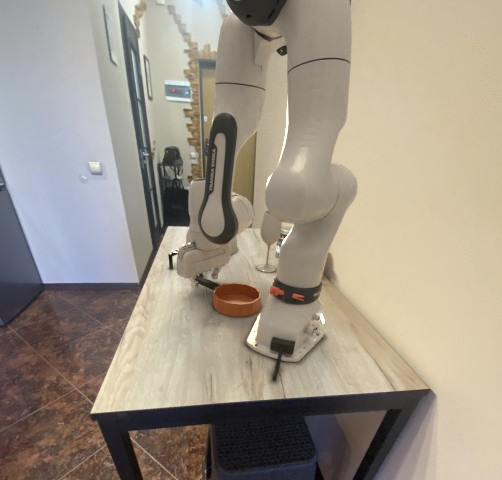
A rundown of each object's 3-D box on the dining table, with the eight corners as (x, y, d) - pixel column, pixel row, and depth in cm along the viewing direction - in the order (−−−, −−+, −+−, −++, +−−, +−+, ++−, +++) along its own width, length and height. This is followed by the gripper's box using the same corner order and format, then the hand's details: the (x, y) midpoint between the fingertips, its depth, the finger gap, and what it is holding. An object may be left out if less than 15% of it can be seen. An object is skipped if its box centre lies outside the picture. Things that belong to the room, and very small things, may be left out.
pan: (268, 304, 88) (269, 292, 86) (241, 322, 78) (242, 309, 76) (208, 280, 99) (208, 269, 97) (177, 293, 89) (177, 281, 87)
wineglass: (260, 272, 109) (266, 214, 97) (254, 265, 115) (259, 209, 103) (278, 272, 111) (286, 215, 99) (272, 265, 117) (279, 210, 105)
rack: (201, 277, 101) (200, 260, 97) (169, 268, 105) (168, 252, 102) (223, 264, 113) (224, 249, 110) (194, 256, 117) (193, 241, 114)
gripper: (185, 249, 74) (187, 296, 82) (234, 235, 89) (232, 277, 96) (169, 243, 77) (173, 289, 85) (219, 231, 91) (218, 271, 99)
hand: (205, 282), depth 91 cm, fingers open, 8 cm apart
